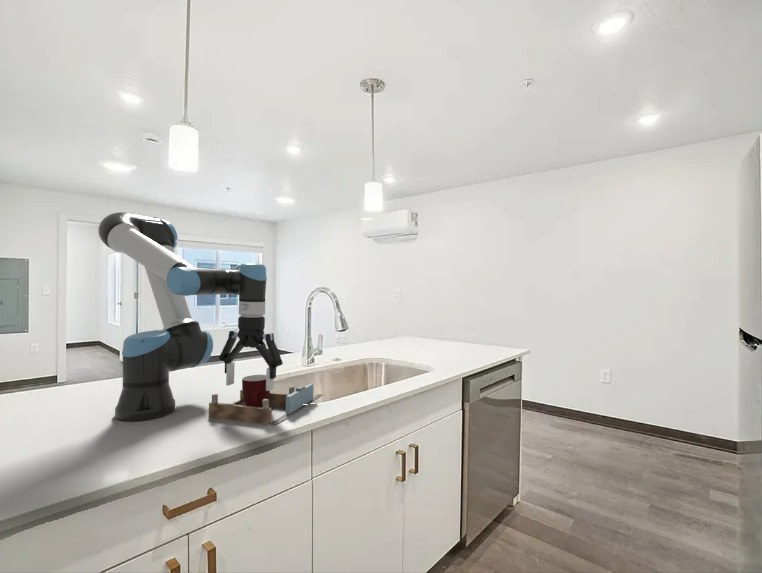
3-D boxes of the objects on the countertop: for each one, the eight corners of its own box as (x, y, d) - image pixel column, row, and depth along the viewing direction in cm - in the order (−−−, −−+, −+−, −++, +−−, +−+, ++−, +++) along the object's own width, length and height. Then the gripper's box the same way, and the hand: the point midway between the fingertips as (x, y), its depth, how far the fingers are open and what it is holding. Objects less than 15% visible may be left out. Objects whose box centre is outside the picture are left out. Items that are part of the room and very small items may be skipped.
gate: (285, 413, 112) (285, 393, 112) (309, 398, 127) (309, 381, 127) (290, 414, 112) (290, 394, 112) (313, 399, 127) (313, 381, 127)
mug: (272, 416, 111) (271, 381, 111) (242, 420, 108) (241, 384, 108) (270, 405, 121) (269, 373, 121) (242, 408, 118) (242, 375, 118)
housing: (208, 417, 110) (208, 394, 110) (268, 389, 139) (268, 372, 139) (275, 425, 104) (275, 401, 104) (323, 395, 133) (323, 376, 133)
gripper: (207, 314, 115) (205, 385, 115) (282, 319, 108) (280, 395, 108) (224, 312, 122) (222, 379, 123) (295, 317, 115) (293, 388, 116)
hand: (249, 387), depth 115 cm, fingers open, 13 cm apart
